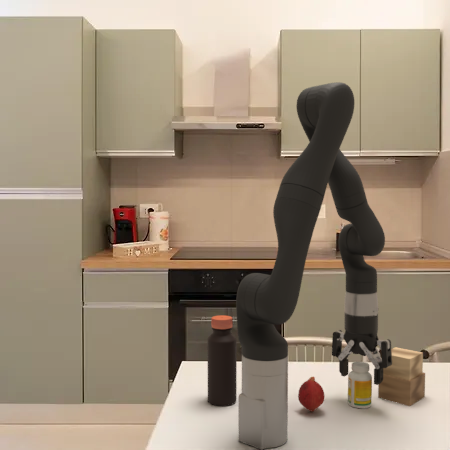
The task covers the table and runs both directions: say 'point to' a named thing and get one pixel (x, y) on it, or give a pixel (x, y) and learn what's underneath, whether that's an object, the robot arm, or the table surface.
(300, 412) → the table surface
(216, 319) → the vinegar
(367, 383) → the supplement bottle
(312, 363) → the table surface
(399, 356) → the tower top
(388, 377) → the tower base
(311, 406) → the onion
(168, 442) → the table surface
